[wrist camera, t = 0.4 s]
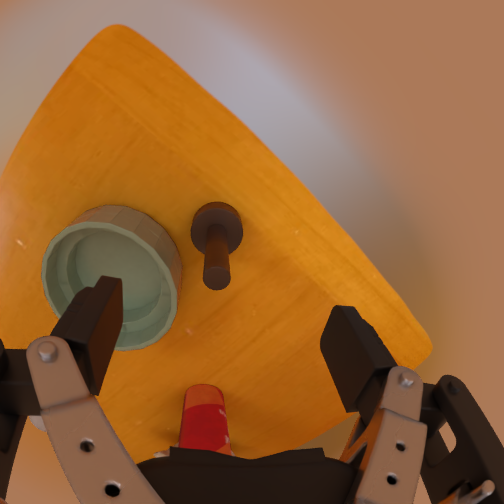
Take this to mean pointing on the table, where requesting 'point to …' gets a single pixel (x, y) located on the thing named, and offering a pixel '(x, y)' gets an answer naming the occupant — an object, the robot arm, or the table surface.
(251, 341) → the table surface
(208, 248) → the brown capped cylinder
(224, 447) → the coffee cup
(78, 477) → the robot arm
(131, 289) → the bowl
